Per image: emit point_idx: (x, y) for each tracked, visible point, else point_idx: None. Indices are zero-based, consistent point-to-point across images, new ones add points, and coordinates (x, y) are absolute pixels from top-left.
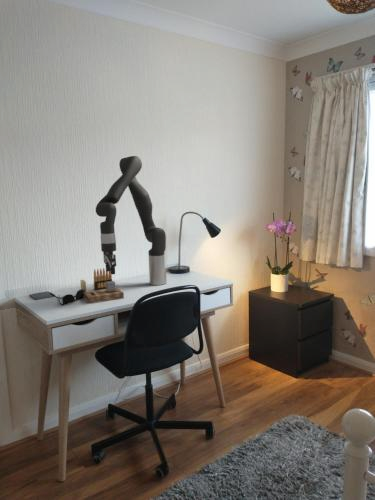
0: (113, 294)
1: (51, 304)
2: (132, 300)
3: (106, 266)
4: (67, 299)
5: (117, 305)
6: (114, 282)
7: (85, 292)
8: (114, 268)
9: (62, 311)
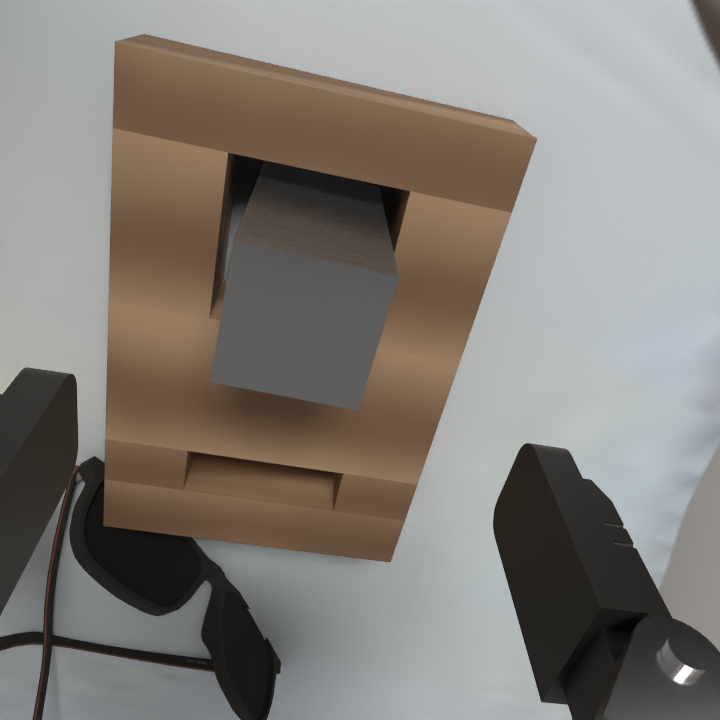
0: (480, 299)
1: (183, 701)
2: (713, 79)
3: (10, 578)
4: (250, 666)
5: (702, 343)
6: (387, 285)
7: (136, 515)
8: (661, 599)
9: (438, 696)
